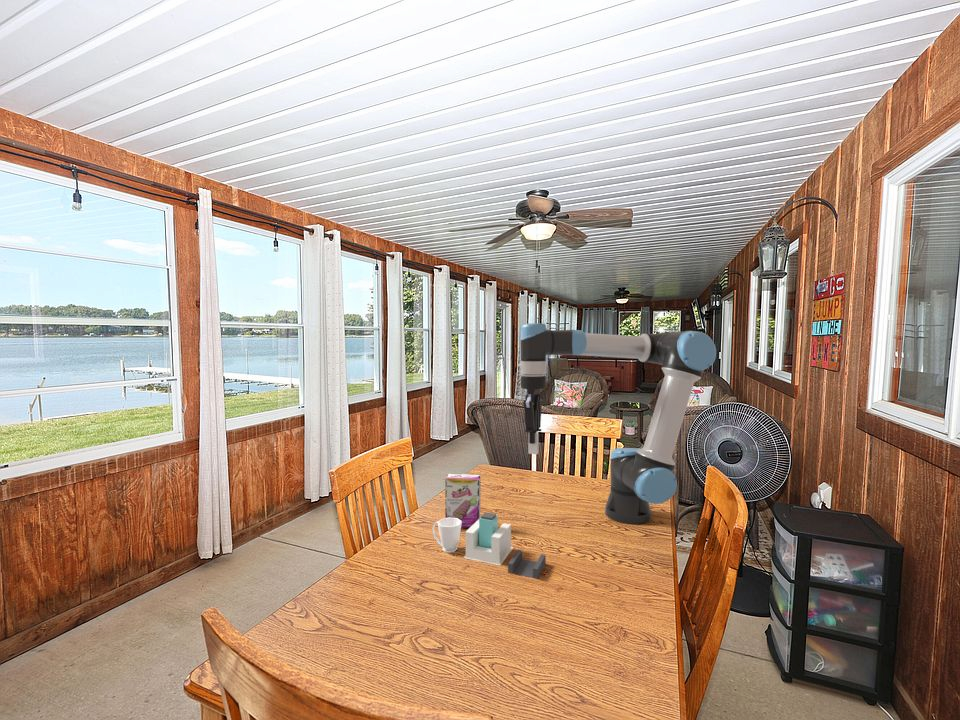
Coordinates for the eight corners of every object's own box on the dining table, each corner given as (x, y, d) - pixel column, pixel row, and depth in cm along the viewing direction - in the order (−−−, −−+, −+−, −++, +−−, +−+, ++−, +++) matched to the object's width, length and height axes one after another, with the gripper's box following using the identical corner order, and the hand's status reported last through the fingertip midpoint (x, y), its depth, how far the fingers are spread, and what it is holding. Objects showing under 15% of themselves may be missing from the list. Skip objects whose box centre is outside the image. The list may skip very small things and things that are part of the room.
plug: (497, 550, 125) (497, 513, 124) (492, 556, 121) (492, 518, 121) (484, 547, 126) (484, 511, 126) (479, 553, 123) (479, 516, 122)
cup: (451, 557, 122) (451, 529, 122) (425, 547, 128) (424, 520, 128) (467, 547, 128) (466, 520, 127) (441, 538, 134) (440, 512, 133)
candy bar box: (445, 528, 141) (444, 477, 141) (447, 521, 146) (447, 473, 146) (479, 529, 140) (479, 478, 140) (481, 522, 145) (480, 474, 145)
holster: (545, 565, 117) (545, 555, 117) (537, 581, 110) (537, 569, 110) (517, 560, 120) (517, 549, 120) (507, 574, 113) (507, 563, 113)
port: (513, 549, 127) (513, 523, 126) (500, 567, 117) (500, 539, 116) (478, 542, 131) (478, 517, 131) (462, 559, 121) (462, 532, 121)
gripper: (527, 373, 138) (527, 447, 139) (514, 376, 126) (514, 457, 127) (550, 373, 135) (550, 449, 136) (539, 377, 123) (539, 460, 124)
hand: (533, 453), depth 132 cm, fingers closed
